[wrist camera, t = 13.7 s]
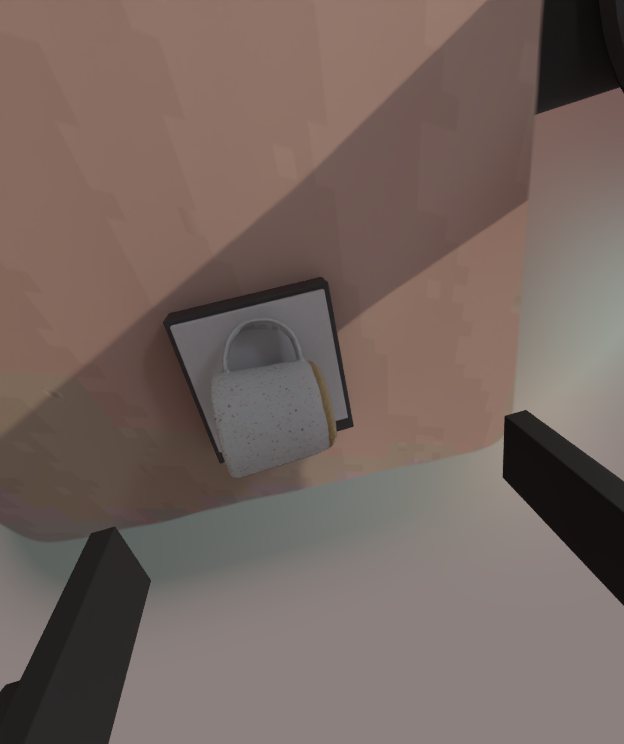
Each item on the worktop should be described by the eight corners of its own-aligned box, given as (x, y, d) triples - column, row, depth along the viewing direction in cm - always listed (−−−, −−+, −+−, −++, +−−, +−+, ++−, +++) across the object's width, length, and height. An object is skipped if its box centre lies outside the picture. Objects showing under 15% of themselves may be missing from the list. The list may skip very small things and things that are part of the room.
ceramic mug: (324, 417, 32) (347, 472, 25) (235, 439, 32) (232, 502, 25) (304, 303, 28) (324, 331, 21) (199, 325, 27) (183, 362, 20)
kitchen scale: (321, 276, 30) (329, 283, 27) (347, 413, 36) (355, 430, 34) (168, 313, 29) (160, 324, 26) (221, 447, 35) (219, 468, 33)
